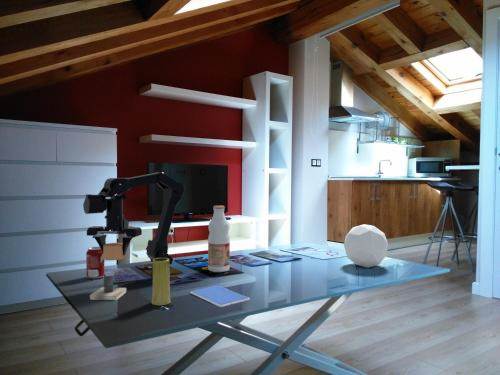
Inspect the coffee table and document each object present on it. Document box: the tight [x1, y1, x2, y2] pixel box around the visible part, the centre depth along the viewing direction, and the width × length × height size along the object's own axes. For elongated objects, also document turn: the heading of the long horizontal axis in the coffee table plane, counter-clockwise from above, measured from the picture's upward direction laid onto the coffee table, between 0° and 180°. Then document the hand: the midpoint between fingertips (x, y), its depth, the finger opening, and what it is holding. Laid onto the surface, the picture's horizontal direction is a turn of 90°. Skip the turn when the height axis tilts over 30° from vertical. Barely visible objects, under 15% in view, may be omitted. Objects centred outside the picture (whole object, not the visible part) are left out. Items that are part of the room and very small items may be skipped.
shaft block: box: [89, 275, 127, 301], centre depth 137 cm, size 9×9×6 cm
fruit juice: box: [207, 205, 231, 273], centre depth 174 cm, size 9×9×28 cm
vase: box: [151, 258, 172, 307], centre depth 130 cm, size 6×6×14 cm
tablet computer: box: [189, 285, 251, 308], centre depth 137 cm, size 19×13×1 cm, turn 39°
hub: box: [103, 242, 126, 261], centre depth 146 cm, size 7×7×5 cm
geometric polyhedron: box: [343, 223, 389, 269], centre depth 183 cm, size 19×20×20 cm
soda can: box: [85, 246, 105, 280], centre depth 161 cm, size 7×7×12 cm
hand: (114, 254), depth 146 cm, fingers closed on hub, 7 cm apart
